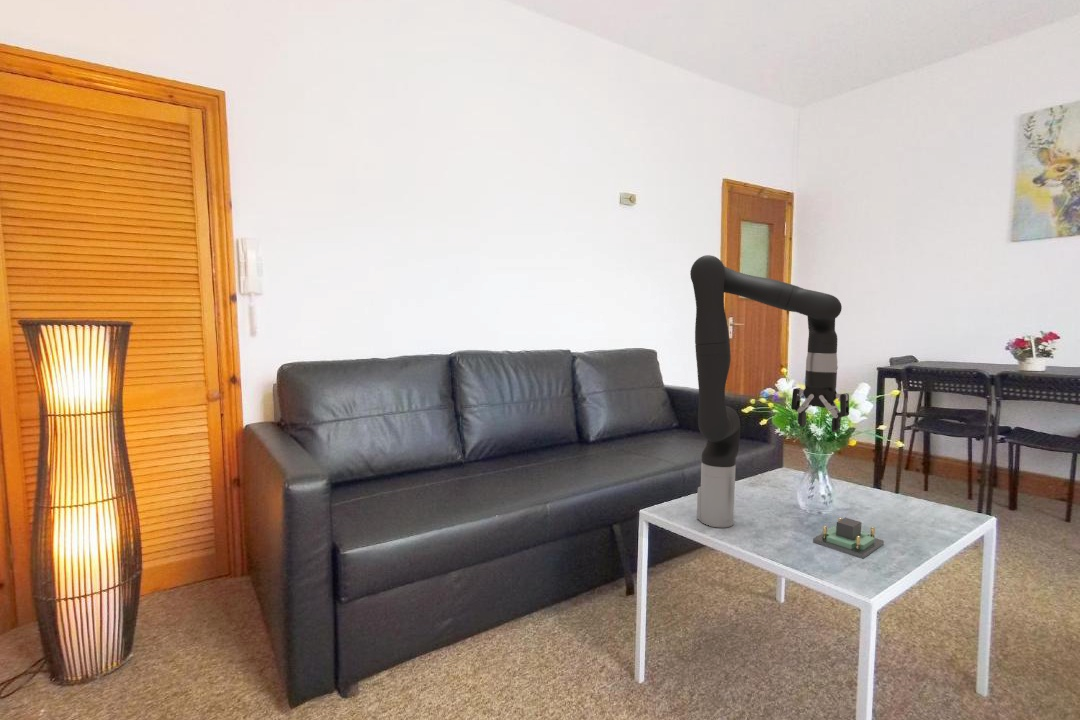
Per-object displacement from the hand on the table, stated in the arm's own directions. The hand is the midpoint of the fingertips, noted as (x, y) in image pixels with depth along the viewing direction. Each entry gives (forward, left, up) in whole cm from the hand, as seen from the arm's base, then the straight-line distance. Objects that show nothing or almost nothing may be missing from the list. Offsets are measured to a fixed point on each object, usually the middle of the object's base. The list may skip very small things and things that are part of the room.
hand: (818, 428), depth 149 cm
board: (+10, -3, -27) cm, 29 cm away
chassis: (+10, -2, -28) cm, 30 cm away
